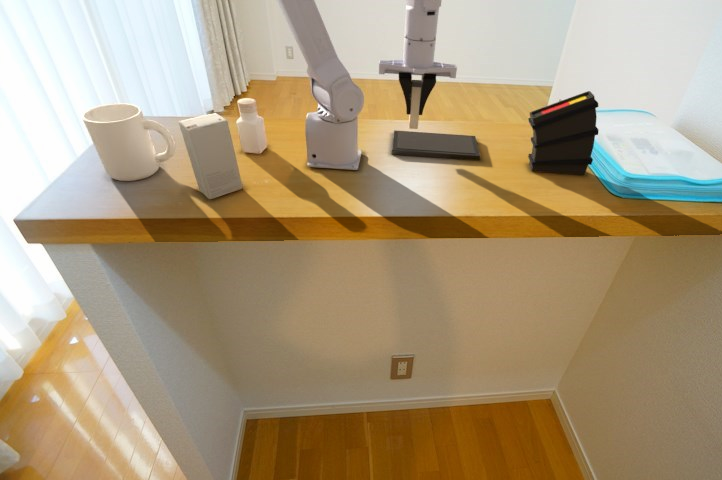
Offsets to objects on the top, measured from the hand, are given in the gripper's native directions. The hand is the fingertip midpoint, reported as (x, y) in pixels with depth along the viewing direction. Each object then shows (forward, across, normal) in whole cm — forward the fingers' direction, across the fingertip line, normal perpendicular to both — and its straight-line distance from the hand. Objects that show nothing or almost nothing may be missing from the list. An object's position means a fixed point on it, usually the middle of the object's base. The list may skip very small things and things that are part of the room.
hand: (414, 113), depth 83 cm
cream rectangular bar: (+3, 0, 0) cm, 3 cm away
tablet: (+7, +5, 0) cm, 8 cm away
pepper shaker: (+7, -31, -6) cm, 33 cm away
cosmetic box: (+7, -33, -22) cm, 40 cm away
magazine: (+7, +28, -8) cm, 30 cm away
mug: (+7, -48, -16) cm, 51 cm away
